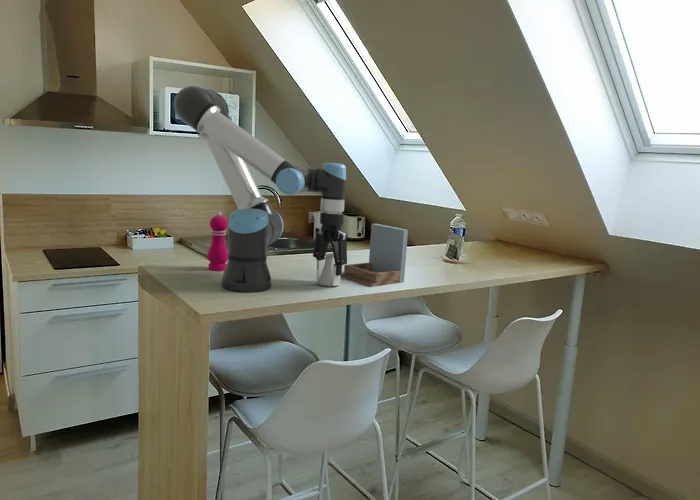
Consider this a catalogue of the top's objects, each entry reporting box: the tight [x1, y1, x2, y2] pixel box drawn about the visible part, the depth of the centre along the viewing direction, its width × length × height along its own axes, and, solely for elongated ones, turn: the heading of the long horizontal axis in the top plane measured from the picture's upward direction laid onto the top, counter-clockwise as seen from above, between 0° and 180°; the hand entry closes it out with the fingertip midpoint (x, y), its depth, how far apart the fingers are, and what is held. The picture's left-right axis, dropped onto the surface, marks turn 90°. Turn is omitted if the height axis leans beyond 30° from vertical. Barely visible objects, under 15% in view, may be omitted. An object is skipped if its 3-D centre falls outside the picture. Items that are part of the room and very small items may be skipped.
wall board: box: [368, 223, 409, 284], centre depth 203 cm, size 2×16×18 cm, turn 41°
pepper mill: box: [206, 211, 229, 272], centre depth 199 cm, size 7×7×20 cm
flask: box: [316, 252, 337, 287], centre depth 188 cm, size 7×7×10 cm
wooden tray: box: [340, 262, 401, 288], centre depth 199 cm, size 13×16×4 cm
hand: (328, 282), depth 188 cm, fingers closed on flask, 7 cm apart
